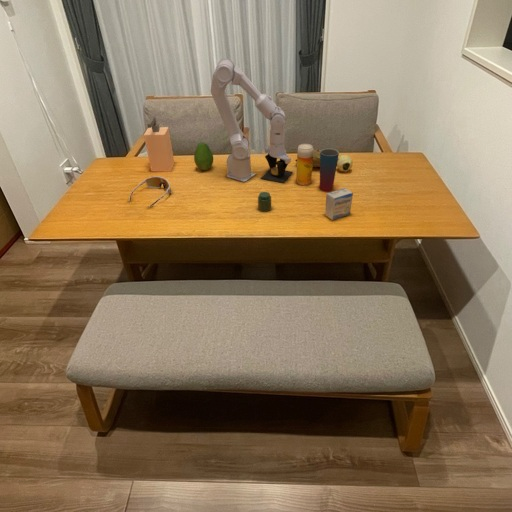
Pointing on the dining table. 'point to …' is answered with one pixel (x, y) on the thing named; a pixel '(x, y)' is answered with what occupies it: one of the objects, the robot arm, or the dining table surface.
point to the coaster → (275, 177)
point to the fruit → (203, 156)
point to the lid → (274, 171)
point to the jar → (264, 201)
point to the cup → (328, 168)
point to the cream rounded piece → (344, 163)
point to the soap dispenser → (159, 147)
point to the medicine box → (338, 203)
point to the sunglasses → (155, 185)
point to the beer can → (304, 164)
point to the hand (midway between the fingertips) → (277, 173)
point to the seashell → (315, 158)
